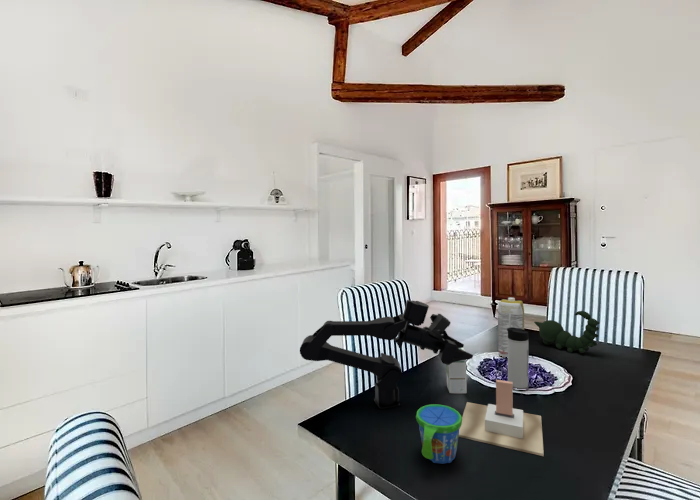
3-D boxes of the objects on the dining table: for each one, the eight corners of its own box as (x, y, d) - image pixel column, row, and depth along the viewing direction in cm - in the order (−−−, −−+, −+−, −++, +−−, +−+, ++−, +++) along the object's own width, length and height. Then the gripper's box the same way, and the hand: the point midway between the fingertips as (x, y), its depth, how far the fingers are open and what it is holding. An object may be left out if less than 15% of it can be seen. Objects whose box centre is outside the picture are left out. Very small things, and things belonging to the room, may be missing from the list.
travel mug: (503, 383, 121) (502, 326, 120) (521, 382, 122) (521, 325, 120) (513, 392, 115) (512, 331, 114) (532, 390, 116) (532, 330, 114)
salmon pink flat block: (496, 413, 96) (495, 381, 95) (496, 410, 97) (496, 379, 96) (512, 416, 94) (512, 384, 93) (512, 414, 95) (512, 382, 95)
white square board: (484, 430, 94) (484, 419, 94) (488, 413, 102) (488, 403, 102) (522, 438, 90) (522, 426, 90) (523, 420, 98) (523, 409, 98)
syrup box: (467, 393, 115) (466, 350, 114) (448, 393, 116) (447, 350, 115) (463, 385, 121) (462, 344, 120) (445, 385, 121) (445, 344, 120)
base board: (456, 436, 93) (456, 434, 93) (467, 403, 109) (467, 402, 109) (543, 456, 84) (543, 453, 84) (541, 417, 100) (541, 415, 100)
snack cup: (434, 432, 95) (433, 395, 94) (473, 447, 88) (472, 407, 87) (403, 463, 83) (402, 421, 82) (445, 483, 76) (444, 438, 76)
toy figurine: (598, 357, 145) (538, 337, 165) (604, 313, 142) (542, 297, 162) (587, 363, 139) (526, 341, 160) (593, 317, 137) (530, 300, 157)
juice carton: (524, 354, 146) (524, 297, 144) (522, 361, 139) (522, 301, 138) (500, 351, 151) (500, 295, 149) (497, 357, 144) (496, 299, 143)
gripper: (433, 320, 99) (486, 336, 99) (421, 305, 118) (466, 318, 118) (421, 357, 100) (474, 373, 100) (411, 336, 119) (456, 349, 119)
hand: (467, 351), depth 109 cm, fingers open, 9 cm apart
